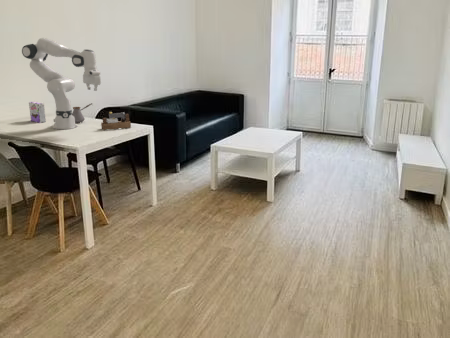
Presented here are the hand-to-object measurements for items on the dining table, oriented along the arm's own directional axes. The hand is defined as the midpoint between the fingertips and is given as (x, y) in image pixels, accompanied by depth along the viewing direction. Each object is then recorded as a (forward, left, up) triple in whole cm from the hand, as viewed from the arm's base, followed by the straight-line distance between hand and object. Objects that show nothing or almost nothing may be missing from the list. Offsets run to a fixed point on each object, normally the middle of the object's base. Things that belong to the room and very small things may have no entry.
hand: (92, 90), depth 314 cm
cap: (0, +14, -26) cm, 30 cm away
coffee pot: (-39, -1, -32) cm, 50 cm away
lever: (0, +18, -26) cm, 32 cm away
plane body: (0, +17, -31) cm, 36 cm away
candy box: (-54, -35, -32) cm, 71 cm away
